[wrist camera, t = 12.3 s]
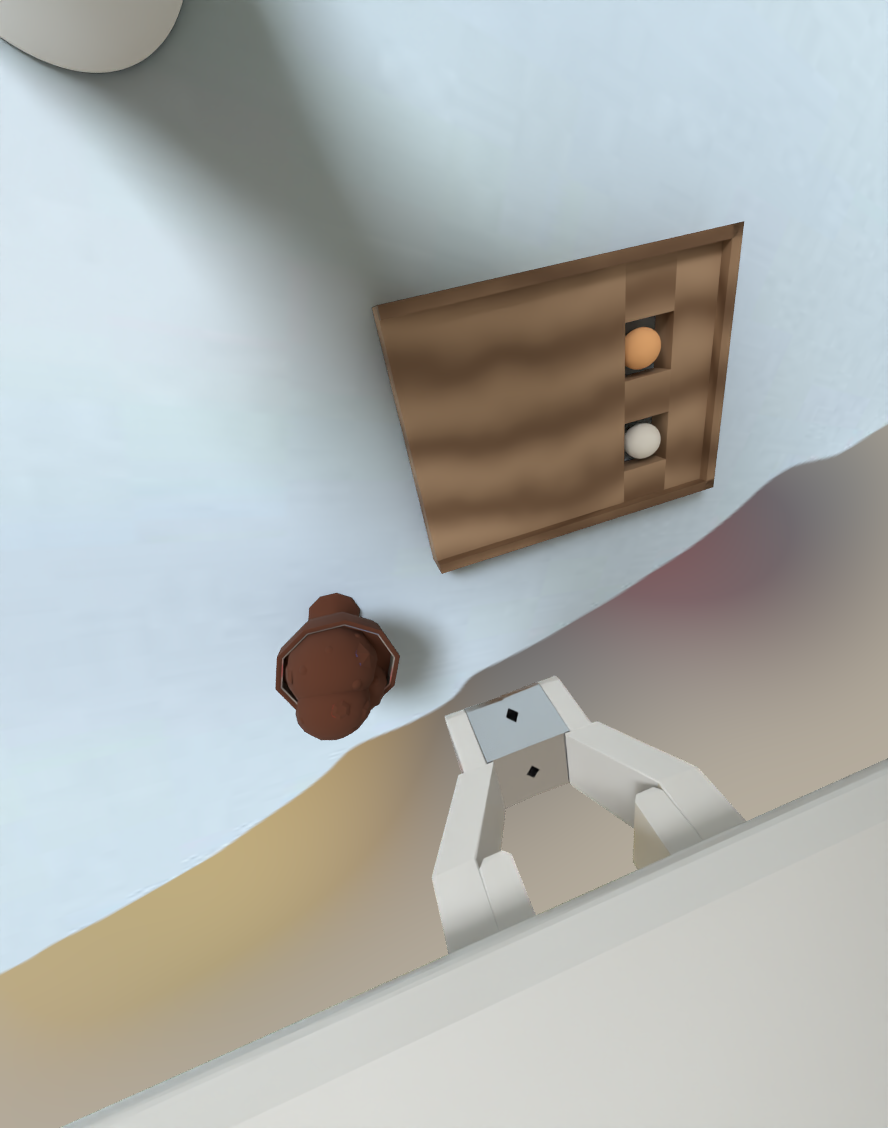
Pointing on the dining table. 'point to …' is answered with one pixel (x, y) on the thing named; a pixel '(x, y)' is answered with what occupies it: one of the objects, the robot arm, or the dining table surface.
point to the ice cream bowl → (335, 668)
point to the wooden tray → (560, 391)
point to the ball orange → (641, 347)
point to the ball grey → (641, 440)
